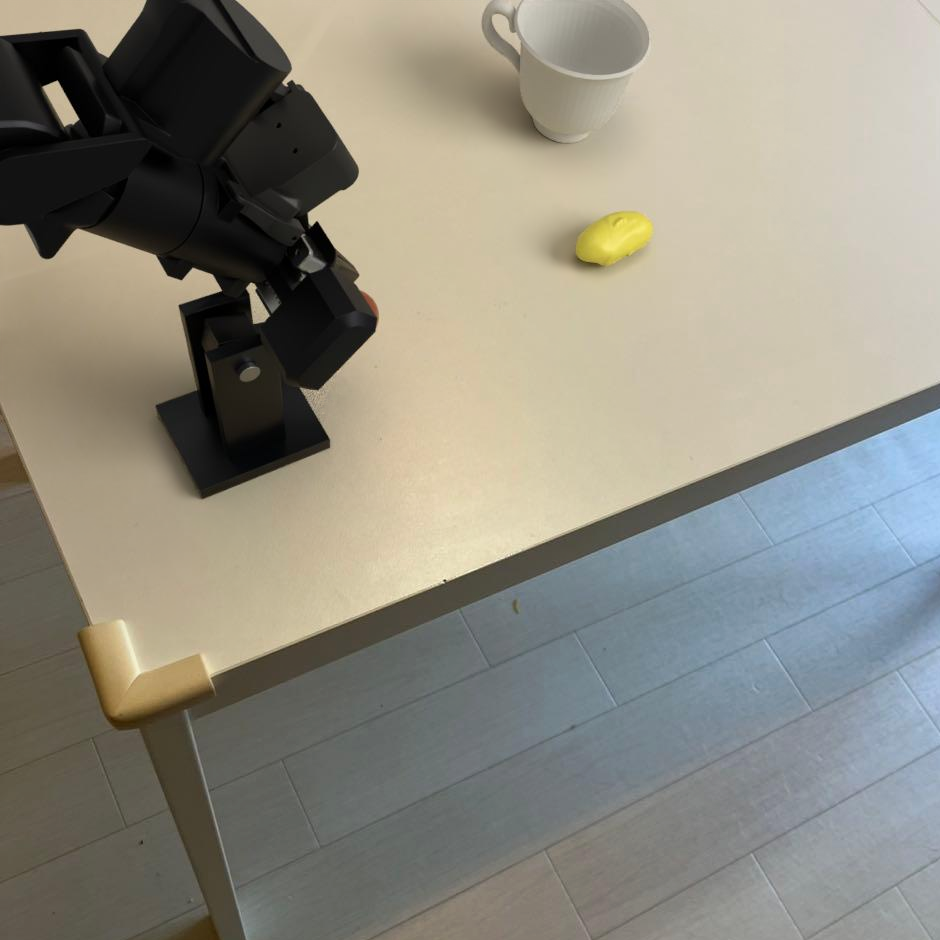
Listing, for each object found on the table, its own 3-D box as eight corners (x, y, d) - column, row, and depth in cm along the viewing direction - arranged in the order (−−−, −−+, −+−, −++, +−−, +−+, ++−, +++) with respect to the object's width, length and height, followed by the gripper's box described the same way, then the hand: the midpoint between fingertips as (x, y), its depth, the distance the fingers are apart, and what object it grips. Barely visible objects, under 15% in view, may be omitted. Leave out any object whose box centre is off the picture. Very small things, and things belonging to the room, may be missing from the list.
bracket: (283, 367, 79) (273, 253, 68) (330, 448, 77) (328, 343, 65) (157, 414, 75) (124, 301, 64) (202, 499, 73) (176, 398, 62)
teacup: (491, 51, 99) (505, -46, 90) (636, 101, 99) (664, 9, 91) (452, 132, 93) (464, 36, 84) (607, 185, 94) (634, 95, 85)
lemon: (658, 256, 91) (670, 225, 87) (583, 283, 88) (592, 251, 84) (633, 223, 92) (644, 190, 89) (558, 248, 89) (567, 215, 86)
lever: (358, 310, 74) (369, 274, 71) (381, 346, 73) (393, 312, 70) (195, 342, 67) (200, 303, 65) (218, 383, 66) (224, 346, 64)
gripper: (344, 216, 48) (510, 295, 62) (182, -34, 54) (366, 90, 67) (204, 372, 52) (388, 414, 66) (66, 124, 58) (263, 210, 72)
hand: (352, 276), depth 68 cm, fingers closed
